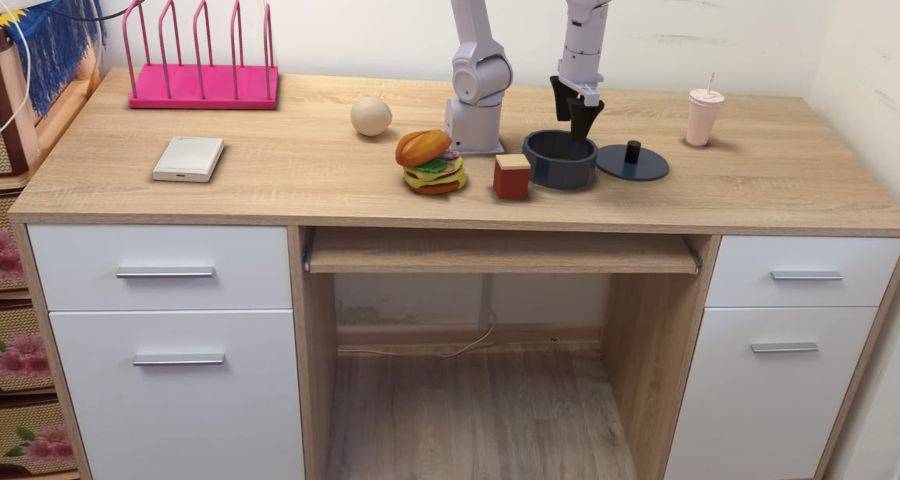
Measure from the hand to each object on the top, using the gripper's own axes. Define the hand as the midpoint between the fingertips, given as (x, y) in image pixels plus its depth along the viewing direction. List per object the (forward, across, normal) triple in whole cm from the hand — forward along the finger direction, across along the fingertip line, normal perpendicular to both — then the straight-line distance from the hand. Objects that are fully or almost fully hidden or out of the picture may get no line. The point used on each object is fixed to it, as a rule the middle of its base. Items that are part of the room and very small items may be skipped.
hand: (570, 130), depth 134 cm
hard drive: (+10, +11, +59) cm, 61 cm away
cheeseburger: (+10, +1, +22) cm, 24 cm away
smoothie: (+10, +13, -31) cm, 35 cm away
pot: (+9, +3, 0) cm, 10 cm away
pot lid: (+9, +5, -14) cm, 17 cm away
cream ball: (+10, +20, +30) cm, 37 cm away
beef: (+9, -3, +10) cm, 14 cm away
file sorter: (+10, +41, +58) cm, 71 cm away
